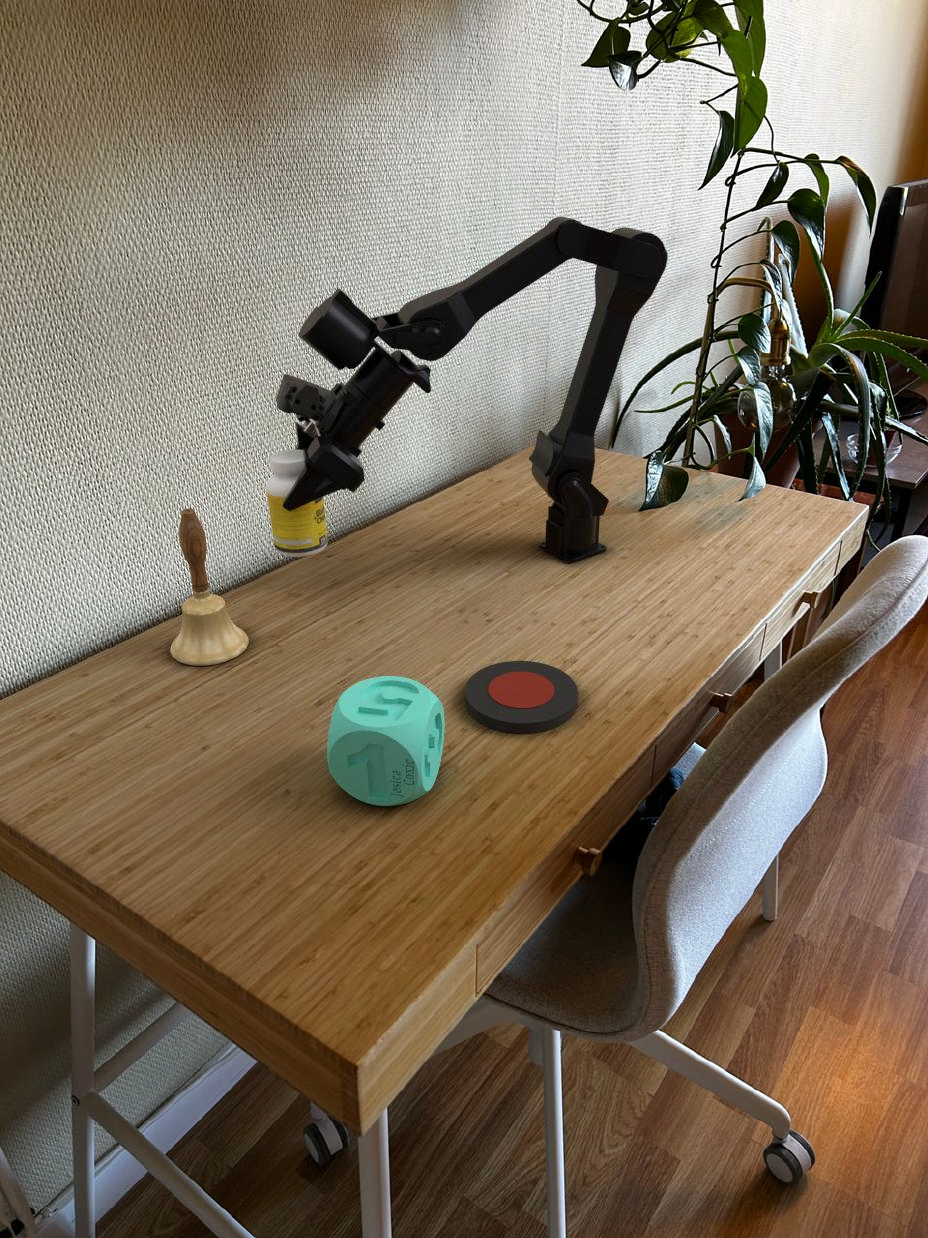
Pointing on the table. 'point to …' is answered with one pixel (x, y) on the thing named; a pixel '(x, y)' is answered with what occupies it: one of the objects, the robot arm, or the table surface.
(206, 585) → the hand bell
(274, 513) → the pill bottle
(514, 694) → the disc
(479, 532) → the table surface
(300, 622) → the table surface
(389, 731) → the decorative dice
